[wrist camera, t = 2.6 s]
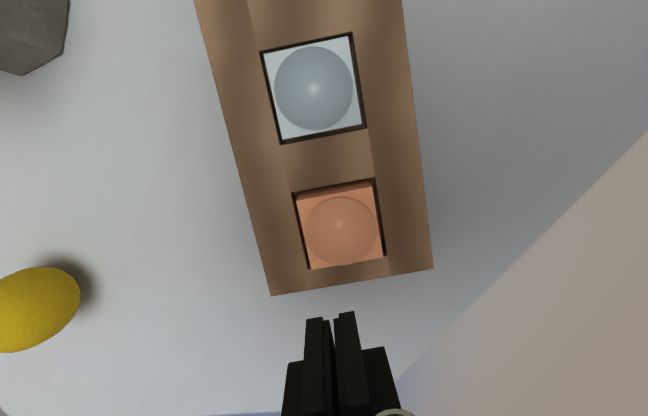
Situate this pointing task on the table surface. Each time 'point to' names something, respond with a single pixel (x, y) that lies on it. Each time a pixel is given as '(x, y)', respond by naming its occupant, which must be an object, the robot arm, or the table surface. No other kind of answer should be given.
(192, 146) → the table surface
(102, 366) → the table surface
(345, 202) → the terracotta button
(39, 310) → the lemon
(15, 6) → the coffeepot
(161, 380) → the table surface
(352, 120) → the slate blue button
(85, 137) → the table surface
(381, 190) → the button panel
